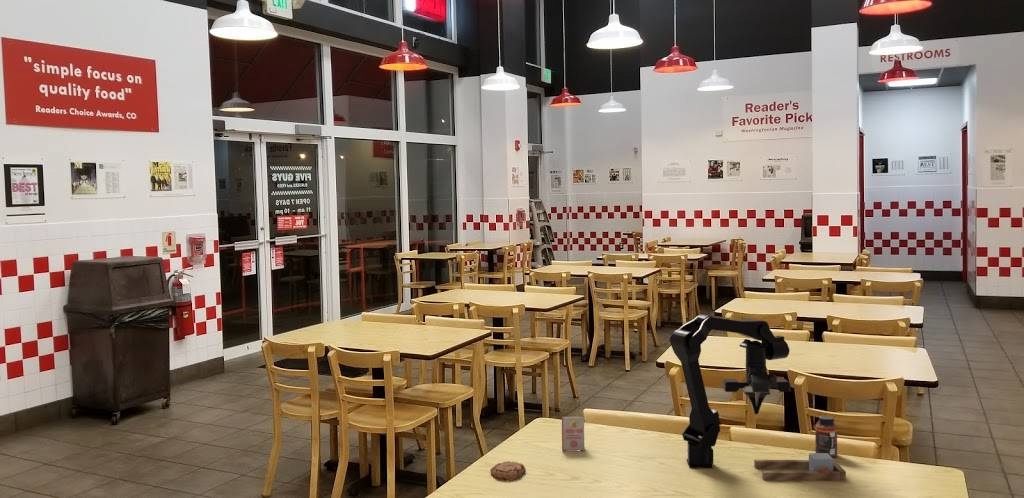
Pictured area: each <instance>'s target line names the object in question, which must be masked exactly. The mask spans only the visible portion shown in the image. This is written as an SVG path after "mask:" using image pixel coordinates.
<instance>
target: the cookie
mask: <svg viewBox="0 0 1024 498" xmlns="http://www.w3.org/2000/svg"><path fill="white" fill-rule="evenodd" d="M489 472H490V474H491V475H492V478H493V479H495V480H500V481H513V480H517V479H519V478H520V477H522V475H523V474H524V473H527V469H526V467H525V466H524V464H523V463H519V462H517V461H516V462H515V461H509V460H507V461H503V462H499V463H497V464H495V465H494V466H493V467H491V468H490V470H489Z"/></svg>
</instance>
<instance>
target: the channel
mask: <svg viewBox="0 0 1024 498" xmlns="http://www.w3.org/2000/svg"><path fill="white" fill-rule="evenodd" d="M753 467H754V469H780V470H762V471H761V479H762V481H812V482H813V481H815V482H817V481H818V482H819V481H821V482H822V481H825V482H826V481H828V482H829V481H832V482H833V481H836V482H837V481H838V482H845V481H847V471H846V470H845V469H844V468H843V467H842V466H841V465H840V464H839V463H838V462H837V461H836V459H834V458H833V471H828V468H827V467H819V471H809V459H753ZM781 469H783V470H781ZM784 469H786V470H784ZM787 469H796V470H787ZM797 469H799V471H798V470H797ZM800 469H801V470H800ZM803 469H805V470H803ZM807 469H808V470H807ZM806 470H807V471H806Z"/></svg>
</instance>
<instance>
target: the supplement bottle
mask: <svg viewBox="0 0 1024 498" xmlns="http://www.w3.org/2000/svg"><path fill="white" fill-rule="evenodd" d="M834 419H835V418H834V417H833V416H830V415H820V416H818V423H816V424H815V432H814V433H815V437H814V438H815V450H814V451H815V453H828V454H829V455H830V456H831V457H832V458H833V459H834V458H836V457H837V455H838V426H837V425H836V424H835V420H834Z"/></svg>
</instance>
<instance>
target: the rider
mask: <svg viewBox="0 0 1024 498" xmlns="http://www.w3.org/2000/svg"><path fill="white" fill-rule="evenodd" d="M833 459H834V457H833V458H832V457H831V456H830V455H829V454H828V453H816V452H810V453H808V460H809V469H808V471H819V467H827V468H828V471H833Z"/></svg>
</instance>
